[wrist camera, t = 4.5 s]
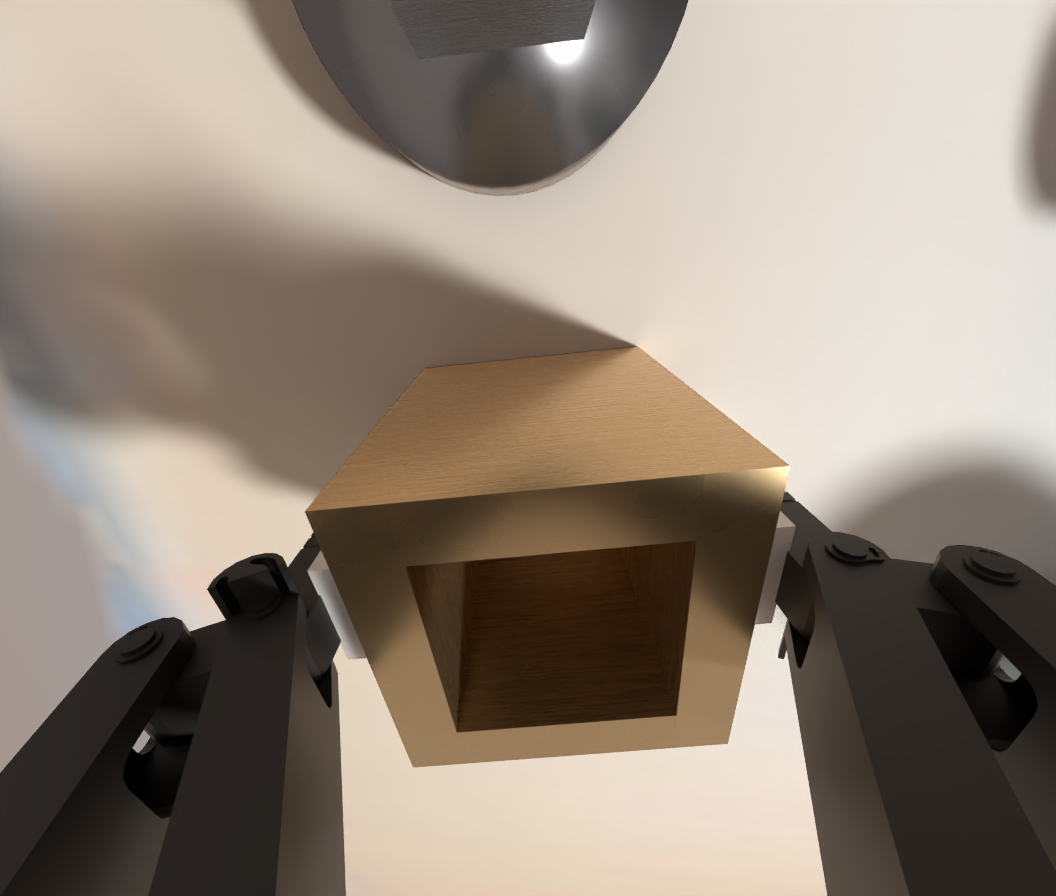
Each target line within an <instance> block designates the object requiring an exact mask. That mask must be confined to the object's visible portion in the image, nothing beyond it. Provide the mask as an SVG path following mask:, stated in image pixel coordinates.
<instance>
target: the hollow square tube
mask: <svg viewBox="0 0 1056 896" xmlns="http://www.w3.org/2000/svg"><path fill="white" fill-rule="evenodd" d="M789 469H790V465H788V464H787V463H786V462H784V461H783V460H782V459H781V458H779V457H778V456H777V455H775V454H774V453H773V452H772V451H770V450H769V449H768V448H767V447H765V446H764V445H763V444H761V443H760V442H759V441H758V440H756V439H755V438H754V437H753V436H751V435H750V434H749V433H747V432H746V431H745V430H744V429H742V428H741V427H740V426H739V425H737V424H736V423H735V422H733V421H732V420H731V419H730V418H728V417H727V416H726V415H725V414H723V413H722V412H721V411H719V410H718V409H717V408H716V407H714V406H713V405H712V404H711V403H709V402H708V401H707V400H705V399H704V398H703V397H702V396H700V395H699V394H698V393H697V392H695V391H694V390H693V389H691V388H690V387H689V386H688V385H686V384H685V383H684V382H683V381H681V380H680V379H679V378H677V377H676V376H675V375H674V374H672V373H671V372H670V371H668V370H667V369H666V368H665V367H663V366H662V365H661V364H660V363H658V362H657V361H656V360H654V359H653V358H652V357H651V356H649V355H648V354H647V353H646V352H644V351H643V350H642V349H640V348H639V347H629V348H619V349H609V350H599V351H589V352H580V353H570V354H560V355H550V356H541V357H531V358H521V359H511V360H502V361H492V362H482V363H472V364H462V365H453V366H443V367H433V368H424V369H423V370H422V371H421V373H420V374H419V375H418V376H417V377H416V379H415V380H414V381H413V382H412V383H411V385H410V386H409V387H408V388H407V389H406V391H405V392H404V393H403V394H402V395H401V397H400V398H399V399H398V400H397V401H396V403H395V404H394V405H393V406H392V407H391V409H390V410H389V411H388V412H387V413H386V415H385V416H384V417H383V418H382V419H381V421H380V422H379V423H378V424H377V425H376V427H375V428H374V429H373V430H372V431H371V433H370V434H369V435H368V436H367V437H366V439H365V440H364V441H363V442H362V443H361V445H360V446H359V447H358V448H357V449H356V451H355V452H354V453H353V454H352V455H351V457H350V458H349V459H348V460H347V461H346V463H345V464H344V465H343V466H342V467H341V469H340V470H339V471H338V472H337V473H336V475H335V476H334V477H333V478H332V479H331V481H330V482H329V483H328V484H327V485H326V487H325V488H324V489H323V490H322V491H321V493H320V494H319V495H318V496H317V497H316V499H315V500H314V501H313V502H312V503H311V505H310V506H309V507H308V508H307V509H306V511H305V513H306V515H307V518H308V520H309V522H310V525H311V527H312V529H313V532H314V534H315V537H316V539H317V541H318V544H319V546H320V548H321V551H322V553H323V555H324V558H325V560H326V563H327V565H328V567H329V570H330V572H331V574H332V577H333V579H334V581H335V584H336V586H337V589H338V591H339V593H340V596H341V598H342V600H343V603H344V605H345V607H346V610H347V612H348V614H349V617H350V619H351V622H352V624H353V626H354V629H355V631H356V633H357V636H358V638H359V640H360V643H361V645H362V648H363V650H364V652H365V655H366V657H367V659H368V662H369V664H370V666H371V669H372V671H373V674H374V676H375V678H376V681H377V683H378V685H379V688H380V690H381V692H382V695H383V697H384V700H385V702H386V704H387V707H388V709H389V711H390V714H391V716H392V718H393V721H394V723H395V725H396V728H397V730H398V733H399V735H400V737H401V740H402V742H403V744H404V747H405V749H406V751H407V754H408V756H409V759H410V761H411V763H412V766H413V767H425V766H438V765H452V764H465V763H478V762H491V761H505V760H518V759H531V758H544V757H558V756H571V755H584V754H597V753H611V752H624V751H637V750H650V749H664V748H677V747H690V746H703V745H717V744H728V740H729V736H730V731H731V727H732V722H733V718H734V714H735V709H736V705H737V700H738V696H739V691H740V687H741V682H742V678H743V674H744V669H745V665H746V660H747V656H748V651H749V647H750V643H751V638H752V634H753V629H754V625H755V620H756V616H757V611H758V607H759V603H760V598H761V594H762V589H763V585H764V580H765V576H766V571H767V567H768V563H769V558H770V554H771V549H772V545H773V540H774V536H775V531H776V527H777V523H778V518H779V514H780V509H781V505H782V500H783V496H784V492H785V487H786V483H787V478H788V474H789Z"/></svg>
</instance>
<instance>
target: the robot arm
mask: <svg viewBox="0 0 1056 896" xmlns="http://www.w3.org/2000/svg"><path fill="white" fill-rule="evenodd" d="M303 547H304V548H303V549H301V550H300V552H299V553H298V554H297V556H296V557H295V558H294V560H293V561H292V563H291V564H290V565H289V567H287V565H286V563H285V561H284V559H283V557H282V556H280V555H278V554H276V553H264V554H259V555H255V556H251V557H249V558H246V559H244V560H241V561H239V562H237V563H235V564H234V565H232V566H230V567H229V568H227V569H225V570H224V571H223V572H222V573H220V574H219V575H218V576H217V577H216V578H215V579H214V580H213V581H212V583H211V584H210V586H209V587H208V589H207V590H208V592H209V593H210V595H211V596H212V598H213V600H214V601H215V603H216V604H217V606H218V608H219V609H220V611H221V612H222V614H223V616H224V617H225V619H226V620H224V621H221V622H218V623H215V624H212V625H209V626H206V627H203V628H199V629H196V630H193V631H190V632H189V630H188V629H187V627H186V626H185V624H184V623H183V622H182V620H180V619H177V618H175V617H172V618H161V619H158V620H155V621H152V622H149V623H146V624H144V625H142V626H139V627H138V628H135V629H134V630H132V631H130V632H128V633H127V634H126V635H125V636H123V637H122V638H120V639H119V640H117V641H116V642H114V643H113V644H112V645H111V646H110V647H109V648H108V649H107V650H106V651H105V652H104V653H103V654H102V655H101V656H100V657H99V658H98V660H97V661H96V662H95V663H94V664H93V665H92V666H91V668H90V669H89V670H88V671H87V672H86V674H85V675H84V676H83V677H82V678H81V679H80V681H79V682H78V683H77V684H76V685H75V686H74V688H73V689H72V690H71V691H70V692H69V693H68V694H67V696H66V697H65V698H64V699H63V700H62V701H61V703H60V704H59V705H58V706H57V707H56V709H55V710H54V711H53V712H52V713H51V714H50V715H49V717H48V718H47V719H46V720H45V722H44V723H43V724H42V725H41V726H40V727H39V728H38V729H37V731H36V732H35V733H34V734H33V735H32V736H31V738H30V739H29V740H28V741H27V742H26V744H25V745H24V746H23V747H22V748H21V749H20V751H19V752H18V753H17V754H16V755H15V756H14V757H13V759H12V760H11V761H10V762H9V763H8V765H7V766H6V767H5V768H4V769H3V771H2V772H1V773H0V896H346V889H345V861H344V834H343V806H342V778H341V751H340V723H339V695H338V673H337V670H336V666H335V664H334V662H333V658H334V655H335V653H336V651H337V649H338V647H339V644H341V646H342V648H343V650H344V652H345V655H346V657H347V659H359V658H367V657H366V655H365V652H364V650H363V648H362V645H361V643H360V640H359V638H358V636H357V633H356V631H355V629H354V626H353V624H352V622H351V619H350V617H349V614H348V612H347V610H346V607H345V605H344V603H343V600H342V598H341V596H340V593H339V591H338V589H337V586H336V584H335V581H334V579H333V577H332V574H331V572H330V570H329V567H328V565H327V563H326V560H325V558H324V555H323V553H322V551H321V548H320V546H319V544H318V541H317V539H316V537H315V534H314V533H313V534H312V535H311V538H309V539H308V541H307V542H306V543H305V545H304V546H303ZM776 604H777V605H778V606H779V608H780V609H781V610H782V612H783V613H784V614H785V616H786V617H787V618H788V619H787V622H786V626H785V630H784V633H783V637H782V641H781V644H780V648H779V654H778V658H781V659H784V657H785V653H786V650H787V654H788V660H789V666H790V672H791V678H792V684H793V690H794V696H795V702H796V708H797V714H798V720H799V726H800V732H801V738H802V744H803V750H804V756H805V762H806V768H807V774H808V781H809V787H810V793H811V799H812V805H813V811H814V817H815V823H816V829H817V835H818V841H819V847H820V853H821V859H822V865H823V871H824V877H825V883H826V889H827V895H828V896H1056V586H1054V585H1053V584H1052V583H1050V582H1049V581H1048V580H1046V579H1045V578H1044V577H1042V576H1041V575H1040V574H1038V573H1037V572H1036V571H1034V570H1033V569H1031V568H1029V567H1028V566H1026V565H1024V564H1023V563H1021V562H1019V561H1018V560H1015V559H1013V558H1010V557H1008V556H1006V555H1003V554H1002V553H999V552H996V551H993V550H988V549H985V548H981V547H974V546H966V545H955V546H947V547H945V548H944V549H942V550H941V551H940V552H939V554H938V556H937V559H936V561H935V563H934V564H930V563H922V562H913V561H905V560H897V559H890V558H889V557H888V556H887V554H886V553H885V552H884V551H883V550H882V549H880V548H879V547H877V546H876V545H874V544H873V543H871V542H869V541H866V540H864V539H862V538H859V537H857V536H854V535H849V534H845V533H841V532H832V531H831V530H829V529H828V528H827V527H826V526H825V525H824V524H823V523H822V522H820V521H819V520H818V519H817V518H816V517H815V516H814V515H812V514H811V513H810V512H809V511H808V510H807V509H806V508H805V507H803V506H802V505H801V504H800V503H799V502H798V501H797V502H796V501H795V499H794V498H793V497H792V496H791V495H790V494H789V493H788V492H784V496H783V500H782V505H781V509H780V514H779V518H778V523H777V527H776V531H775V536H774V540H773V545H772V549H771V554H770V558H769V563H768V567H767V571H766V576H765V580H764V585H763V589H762V594H761V598H760V603H759V607H758V611H757V616H756V620H755V624H764V623H772V619H773V615H774V611H775V607H776ZM1004 656H1005V657H1006V658H1007V659H1008V660H1009V661H1010V662H1011V663H1012V664H1013V665H1014V666H1015V667H1016V668H1017V669H1018V670H1019V671H1020V672H1021V675H1020V676H1019V677H1018V679H1016V680H1013V679H1012V678H1011V677H1009V676H1008V675H1007V674H1006V673H1005V672H1004V671H1003V670H1002V669H1001V668H1000V667H999V666H998V665H999V664H1000V662H1001V661H1002V659H1003V658H1004ZM143 730H145V731H146V732H147V734H148V735H149V736H150V739H149V740H148V742H147V744H146V746H144V748H143V749H142V750H141V751H140V752H139V753H137V752H136V751H135V750H134V749H133V748H132V747H133V746H134V744H135V743H136V741H137V739H138V738H139V736H140V735H141V733H142V731H143Z"/></svg>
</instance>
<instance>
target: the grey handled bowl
mask: <svg viewBox="0 0 1056 896" xmlns="http://www.w3.org/2000/svg"><path fill="white" fill-rule="evenodd" d="M292 1H293V3H294V6H295V8H296V11H297V13H298V16H299V18H300V20H301V23H302V25H303V28H304V30H305V32H306V34H307V36H308V38H309V40H310V42H311V44H312V45H313V47H314V49H315V51H316V53H317V55H318V57H319V59H320V61H321V62H322V64H323V66H324V67H325V69H326V70H327V72H328V73H329V75H330V76H331V78H332V80H333V81H334V83H335V84H336V86H337V87H338V89H339V90H340V91H341V93H342V94H343V95H344V96H345V98H346V99H347V100H348V101H349V103H350V104H351V105H352V106H353V108H354V109H355V110H356V111H357V113H358V114H359V115H360V116H361V117H362V118H363V119H364V120H365V121H366V122H367V123H368V124H369V125H370V126H371V127H372V128H373V129H374V130H375V131H376V132H377V133H378V134H379V135H380V136H381V137H382V138H384V139H385V140H386V141H387V142H388V143H389V144H391V145H392V146H393V147H394V148H395V149H397V150H398V151H399V152H400V153H401V154H402V155H404V156H405V157H406V158H407V159H409V160H410V161H411V162H412V163H414V164H415V165H416V166H417V167H419V168H420V169H421V170H423V171H425V172H426V173H428V174H430V175H431V176H433V177H435V178H436V179H438V180H440V181H442V182H444V183H446V184H449V185H451V186H453V187H456V188H458V189H462V190H465V191H469V192H473V193H476V194H484V195H493V196H505V195H518V194H523V193H529V192H534V191H536V190H539V189H542V188H545V187H548V186H551V185H553V184H555V183H557V182H559V181H560V180H562V179H564V178H566V177H568V176H570V175H571V174H573V173H574V172H575V171H577V170H578V169H579V168H581V167H582V166H584V165H585V164H586V163H587V162H589V161H590V160H591V159H592V158H593V157H594V156H595V155H596V154H597V153H598V152H599V151H600V150H601V149H602V148H603V147H604V146H605V145H606V144H607V142H608V141H609V140H610V139H611V138H612V136H613V135H614V134H615V133H616V131H617V130H618V129H619V128H620V127H621V125H622V124H623V123H624V121H625V120H626V119H627V118H628V116H629V115H630V114H631V113H632V111H633V110H634V109H635V108H636V106H637V105H638V104H639V102H640V101H641V99H642V98H643V96H644V95H645V93H646V92H647V90H648V89H649V87H650V85H651V84H652V82H653V81H654V79H655V78H656V76H657V74H658V72H659V70H660V68H661V66H662V64H663V62H664V60H665V58H666V57H667V55H668V53H669V51H670V49H671V46H672V44H673V41H674V39H675V36H676V34H677V31H678V29H679V26H680V24H681V21H682V19H683V16H684V13H685V10H686V6H687V3H688V0H292Z"/></svg>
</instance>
